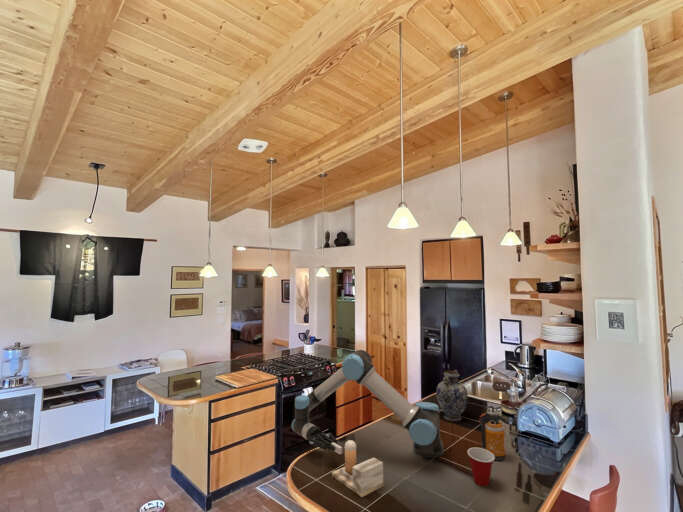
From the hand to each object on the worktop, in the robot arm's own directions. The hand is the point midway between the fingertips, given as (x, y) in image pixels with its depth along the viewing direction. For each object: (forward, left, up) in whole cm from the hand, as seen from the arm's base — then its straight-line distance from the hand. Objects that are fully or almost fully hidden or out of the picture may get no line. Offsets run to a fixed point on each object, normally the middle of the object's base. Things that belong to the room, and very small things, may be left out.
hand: (340, 450), depth 160 cm
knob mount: (-9, +5, -8) cm, 14 cm away
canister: (-64, -37, -9) cm, 75 cm away
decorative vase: (-42, -79, -9) cm, 90 cm away
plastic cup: (-59, -12, -9) cm, 61 cm away
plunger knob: (-6, +3, -7) cm, 10 cm away
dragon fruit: (-63, -70, -9) cm, 95 cm away
